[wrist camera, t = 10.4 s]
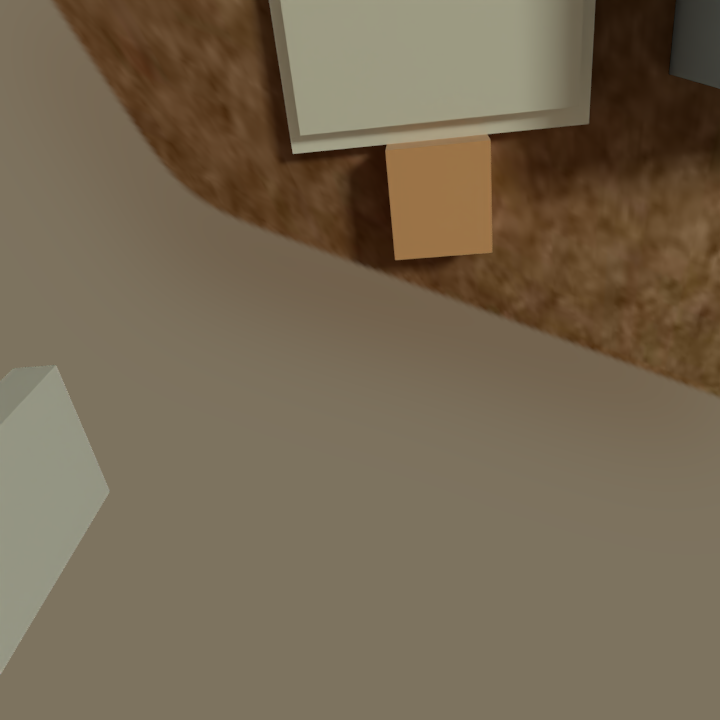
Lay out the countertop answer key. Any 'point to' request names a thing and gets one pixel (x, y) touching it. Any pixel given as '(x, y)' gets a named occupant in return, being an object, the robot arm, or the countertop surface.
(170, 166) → the countertop surface
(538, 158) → the countertop surface
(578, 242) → the countertop surface
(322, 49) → the lid
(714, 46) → the tub
